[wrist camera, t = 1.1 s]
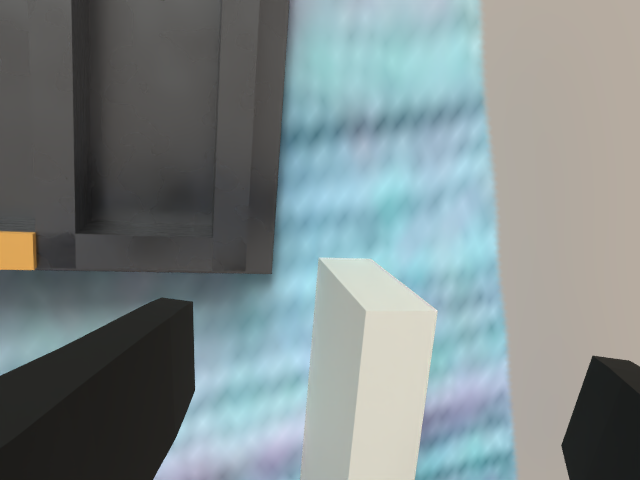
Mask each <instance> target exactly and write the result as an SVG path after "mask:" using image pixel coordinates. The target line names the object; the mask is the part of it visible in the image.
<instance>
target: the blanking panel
mask: <svg viewBox="0 0 640 480" xmlns="http://www.w3.org/2000/svg"><path fill="white" fill-rule="evenodd" d="M437 312H438V311H437V310H436V309H435V308H433V307H432V306H431V305H429V304H428V303H427V302H426V301H424V300H423V299H422V298H420V297H419V296H418V295H417V294H415V293H414V292H413V291H412V290H410V289H409V288H408V287H406V286H405V285H404V284H403V283H401V282H400V281H399V280H397V279H396V278H395V277H394V276H392V275H391V274H390V273H388V272H387V271H386V270H385V269H383V268H382V267H381V266H379V265H378V264H377V263H376V262H374V261H373V260H372V259H354V258H319V260H318V272H317V284H316V296H315V307H314V319H313V331H312V343H311V355H310V367H309V379H308V391H307V403H306V415H305V427H304V439H303V451H302V463H301V475H300V480H415V473H416V466H417V459H418V451H419V444H420V436H421V429H422V422H423V414H424V407H425V400H426V392H427V385H428V378H429V370H430V363H431V356H432V348H433V341H434V334H435V326H436V319H437Z"/></svg>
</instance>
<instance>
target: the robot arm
mask: <svg viewBox="0 0 640 480" xmlns="http://www.w3.org/2000/svg"><path fill="white" fill-rule="evenodd" d="M194 392H195V370H194V330H193V302H190V301H183V300H176V299H168V298H159V299H157V300H155V301H152V302H150V303H148V304H146V305H144V306H142V307H140V308H138V309H136V310H134V311H132V312H130V313H128V314H126V315H124V316H122V317H120V318H118V319H116V320H114V321H112V322H110V323H108V324H107V325H105V326H103V327H101V328H99V329H97V330H95V331H93V332H91V333H89V334H87V335H85V336H83V337H81V338H79V339H77V340H75V341H73V342H71V343H69V344H67V345H65V346H63V347H61V348H59V349H57V350H55V351H53V352H51V353H48V354H46V355H44V356H42V357H40V358H38V359H36V360H33V361H31V362H29V363H27V364H25V365H23V366H21V367H18V368H16V369H14V370H12V371H10V372H8V373H6V374H3V375H1V376H0V480H153V478H154V477H155V475H156V473H157V471H158V469H159V468H160V466H161V464H162V462H163V460H164V459H165V457H166V455H167V453H168V451H169V450H170V448H171V446H172V444H173V442H174V440H175V438H176V436H177V434H178V431H179V429H180V427H181V424H182V422H183V419H184V417H185V415H186V412H187V409H188V407H189V404H190V402H191V399H192V397H193V394H194ZM561 446H562V450H563V454H564V459H565V463H566V466H567V470H568V475H569V479H570V480H640V367H639V366H638V365H636V364H634V363H633V362H631V361H627V360H620V359H613V358H606V357H598V356H592V359H591V362H590V365H589V368H588V370H587V373H586V376H585V379H584V382H583V385H582V388H581V391H580V393H579V396H578V399H577V402H576V405H575V408H574V411H573V414H572V416H571V419H570V422H569V425H568V428H567V431H566V434H565V437H564V439H563V442H562V445H561Z"/></svg>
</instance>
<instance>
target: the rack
mask: <svg viewBox="0 0 640 480" xmlns="http://www.w3.org/2000/svg"><path fill="white" fill-rule="evenodd" d="M288 12H289V0H0V270H64V271H125V272H186V273H246V274H272V260H273V245H274V229H275V214H276V198H277V183H278V167H279V152H280V136H281V121H282V105H283V90H284V74H285V59H286V43H287V28H288Z"/></svg>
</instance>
